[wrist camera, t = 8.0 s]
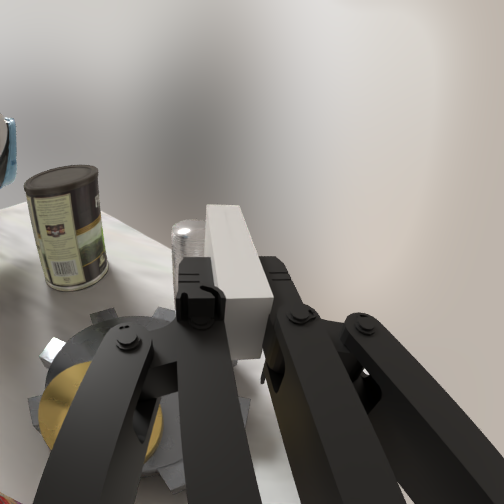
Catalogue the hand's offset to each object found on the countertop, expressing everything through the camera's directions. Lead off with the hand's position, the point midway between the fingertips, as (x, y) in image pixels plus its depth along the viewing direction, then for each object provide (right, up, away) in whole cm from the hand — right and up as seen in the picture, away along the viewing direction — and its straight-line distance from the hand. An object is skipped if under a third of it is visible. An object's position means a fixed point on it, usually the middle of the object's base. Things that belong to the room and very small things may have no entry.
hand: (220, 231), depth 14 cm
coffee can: (-24, -4, +23) cm, 33 cm away
